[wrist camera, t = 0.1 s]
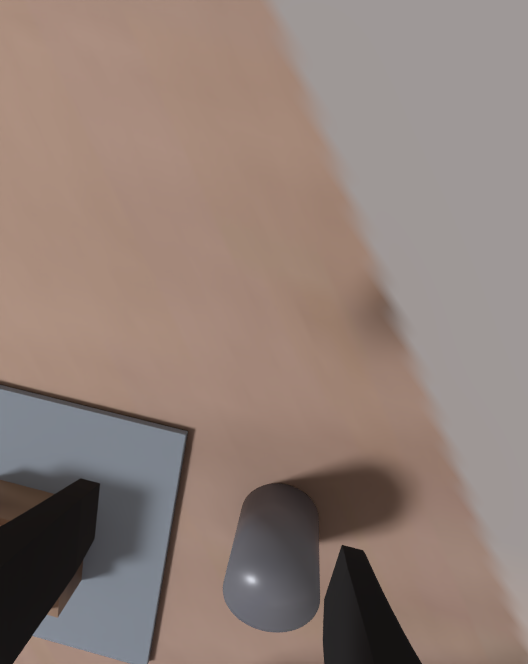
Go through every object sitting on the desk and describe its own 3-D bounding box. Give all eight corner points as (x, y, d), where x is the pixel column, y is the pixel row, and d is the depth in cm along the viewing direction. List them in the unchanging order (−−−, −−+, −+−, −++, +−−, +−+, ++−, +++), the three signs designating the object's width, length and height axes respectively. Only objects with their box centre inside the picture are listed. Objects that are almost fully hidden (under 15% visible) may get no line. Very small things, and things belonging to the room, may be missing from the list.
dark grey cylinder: (308, 556, 24) (307, 642, 19) (235, 537, 24) (215, 618, 19) (326, 494, 22) (330, 570, 18) (249, 475, 23) (232, 544, 18)
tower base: (81, 580, 26) (57, 617, 23) (-9, 555, 26) (-41, 590, 24) (88, 502, 24) (63, 534, 21) (-8, 477, 24) (-43, 506, 22)
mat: (148, 661, 28) (146, 668, 27) (-72, 599, 28) (-78, 605, 28) (187, 431, 22) (185, 435, 22) (-84, 363, 23) (-91, 366, 23)
